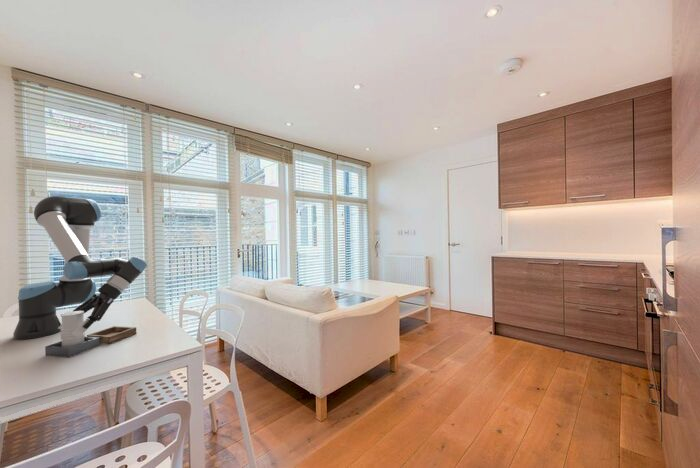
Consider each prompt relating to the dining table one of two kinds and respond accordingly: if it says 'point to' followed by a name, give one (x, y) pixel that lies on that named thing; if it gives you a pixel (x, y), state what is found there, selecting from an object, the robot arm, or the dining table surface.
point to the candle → (71, 328)
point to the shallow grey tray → (71, 348)
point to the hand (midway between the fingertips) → (68, 332)
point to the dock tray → (113, 334)
